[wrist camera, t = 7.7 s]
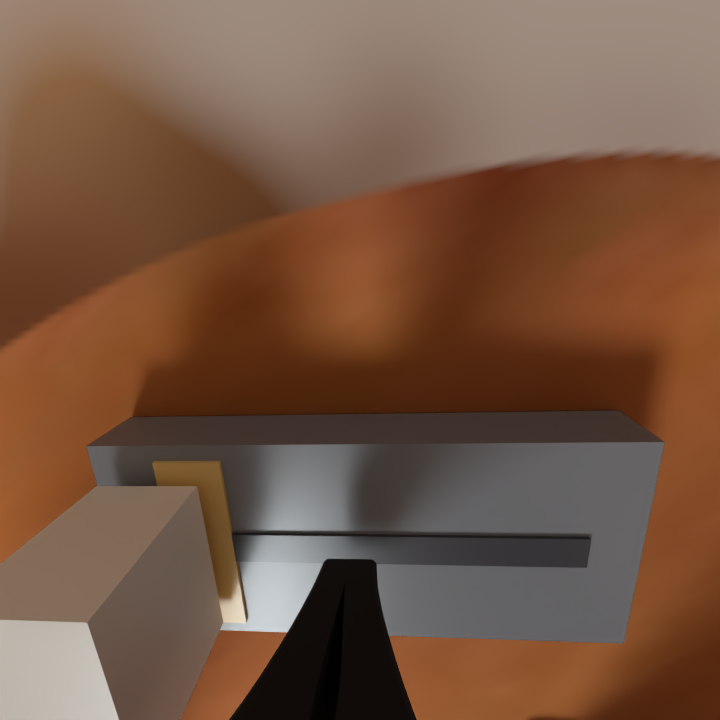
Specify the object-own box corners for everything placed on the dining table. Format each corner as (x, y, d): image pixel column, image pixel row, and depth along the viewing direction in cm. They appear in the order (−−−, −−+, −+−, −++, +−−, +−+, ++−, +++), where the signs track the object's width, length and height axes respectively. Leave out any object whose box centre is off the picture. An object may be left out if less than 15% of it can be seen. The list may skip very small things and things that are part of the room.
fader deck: (618, 410, 12) (667, 444, 10) (590, 588, 14) (625, 647, 11) (130, 417, 13) (83, 448, 11) (169, 578, 15) (134, 630, 13)
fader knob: (197, 486, 10) (87, 622, 7) (223, 622, 12) (145, 799, 8) (96, 485, 11) (-66, 617, 7) (133, 619, 12) (16, 790, 8)
